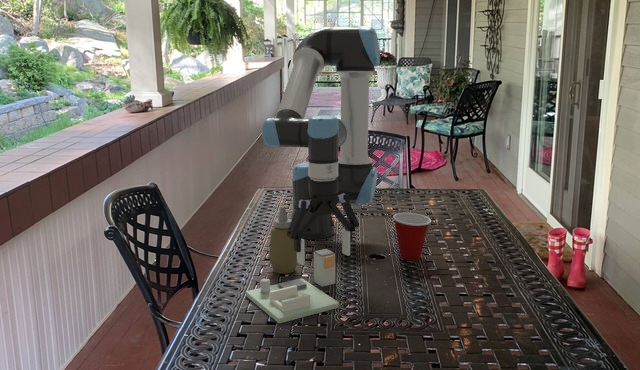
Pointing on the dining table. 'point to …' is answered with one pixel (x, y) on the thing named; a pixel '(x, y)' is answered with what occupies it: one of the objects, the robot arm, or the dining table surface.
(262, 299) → the board
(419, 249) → the plastic cup
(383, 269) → the dining table surface
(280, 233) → the squeeze bottle
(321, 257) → the plug
